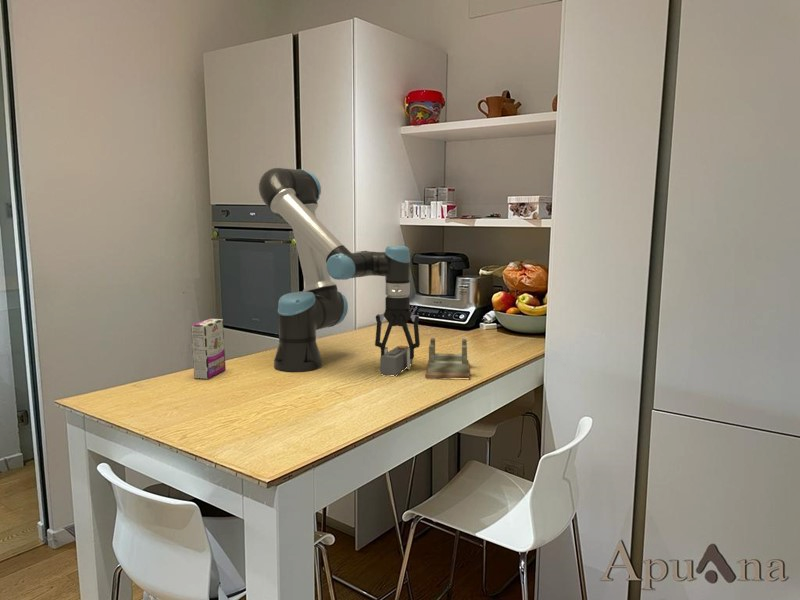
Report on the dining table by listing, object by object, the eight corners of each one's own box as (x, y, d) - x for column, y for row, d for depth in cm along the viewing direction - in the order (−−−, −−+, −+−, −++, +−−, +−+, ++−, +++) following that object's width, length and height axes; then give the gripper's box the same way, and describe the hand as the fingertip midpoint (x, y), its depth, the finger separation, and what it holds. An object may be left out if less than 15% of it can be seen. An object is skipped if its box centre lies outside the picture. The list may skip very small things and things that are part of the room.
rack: (425, 378, 184) (425, 349, 183) (428, 362, 204) (428, 335, 203) (469, 379, 183) (469, 350, 182) (468, 363, 203) (468, 336, 201)
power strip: (380, 375, 188) (380, 354, 187) (398, 363, 203) (398, 344, 202) (395, 377, 187) (395, 356, 186) (412, 365, 202) (412, 345, 201)
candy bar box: (211, 369, 194) (209, 318, 192) (226, 370, 193) (224, 318, 191) (192, 379, 183) (190, 324, 181) (208, 380, 182) (205, 325, 180)
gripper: (364, 297, 189) (365, 370, 192) (428, 298, 187) (427, 372, 190) (368, 294, 196) (368, 364, 200) (429, 295, 194) (428, 366, 198)
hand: (397, 368), depth 195 cm, fingers open, 6 cm apart
